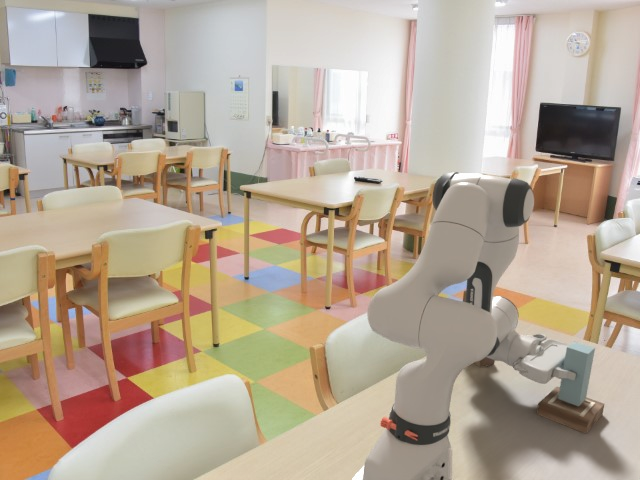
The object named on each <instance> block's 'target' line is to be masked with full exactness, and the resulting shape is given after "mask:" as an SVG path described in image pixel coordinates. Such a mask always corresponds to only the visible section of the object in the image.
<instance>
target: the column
mask: <svg viewBox="0 0 640 480" xmlns="http://www.w3.org/2000/svg"><path fill="white" fill-rule="evenodd" d="M595 350H596V347H595V346H591V345H588V344H585V343H582V342H578V341H576V340H575V341H572V342H571V343H570V344H569V346H568V347H567V349H566V355H565V361H564V367H563V370H568V371H569V370H572V371H575V372H577V378H576V379H575V380H570V379H567V378H560V379H561V380H560V387H559V388H560V391H559V397H558V399H560V400H563V401H565V402H568V403H571V404H573V405H576V406H580V405H581V404H582V403H583V402H584V401H585V400H586V397H587V395H588V390H589V383H590V377H591V374H592V373H591V372H592V367H593V362H594V356H595Z"/></svg>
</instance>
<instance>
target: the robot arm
mask: <svg viewBox="0 0 640 480" xmlns="http://www.w3.org/2000/svg"><path fill="white" fill-rule="evenodd" d="M431 196H432V199H431V200H432V206H433V208H434V210H435V213H434V216H433V218H432V220H431V224H430V226H429V230H428V233H427V236H426V239H425V241H424V244H423V247H422V249H421V252H420V254H419V256H418V258H417V260H416V261H415V263H414V264H413V266H412V267H410V269H409V271H407V272H406V274H404V275H403V276H401V278H399V279H398V280H396V281H395V282H393V283H391V284H390V285H387V286H384V287H382V288H380V289H378V291H376V293H375V294H374V295H373V296H372V297H371V298H370V301H369V303H368V306H367V315H366V316H367V321H368V324H369V325H368V326H369V327H370V329H371V331H372V332H373V333H375V334H377V335H379V336H381V337H382V338H385V339H387V340H389V341H391V342H393V343H397V344H399V345H404V346H408V347H412V348H416V349H419V350H422V351H424V352H425V353H426V354H425V355H426V356H425V357H426V358H423V359H416V360H414V361H410V362H408V363H406V364H405V365H403V366H402V367H401V368H400V370H399V371H398V373H397V375H396V379H395V380H396V381H395V393H394V403H393V404H392V406H391V410H390V411H389V417H386V416H384V417H382V418H381V420H380V424H379V425H380V427H382V428H384V430H383V432H382V433H381V435H380V436H379V437H378V439H377V441H376V442H375V444H374V445H373V447H372V448H371V449H370V451H369V453H368V454H367V456H366V459H365V462H364V464H363V466H362V467H361V468H360V469H359V470H358V472H357V473H356V474H355V475H354V476H353V477H352V479H351V480H454V479H453V448H452V446H451V442H450V439H449V433H450V427H451V422H452V421H451V420H452V419H451V412H450V407H451V399H452V396H453V395H452V394H453V390H454V384H455V382H456V380H457V378H458V376H459V375H460V374H461V373H462V372H463V370H465V369H466V368H467V367H469V366H470V365H472V364H475V363H474V362H477V361H480V360H482V359H483V358H485V357H487V358H490V359H492V360H495V361H496V362H503V363H505V364H506V365H507V366H509V367H512V368H513V369H514V370H515V372H516V371H517V372H518V373H519V374H520V375H521V376H522V377H525V378H527V379H529V380H531V381H533V382H536V383H538V384H542V385H543V384H544V385H545V384H548V383H549V382H550V381H551V380H552V379H553V378H554V377H555V378H558V379H562V378H567V379H570V380H575V379H576V378H577V372H575V371H572V370H569V371H568V370H563V367H564V361H565V355H566V349H567V347H568V346H569V345H570V344H569V343H567V342H563V341H561V340H557V339H555V338H554V339H553V338H548V337H547V335H546V334H543V333H538V334H533V335H530V334H529V335H528V334H527V335H525V334H521V333H519V332H517V331H516V328H517V326H518V322H519V318H520V317H519V315H520V313H519V310H518V308H517V305H516V304H515V303H513V301H511V300H510V299H508V298H507V297H504V296H501V295H494V292H495V289H496V287H497V284H498V283H499V281H500V280H501V278H502V276H503V275H504V273H506V271H507V269H508V268H509V267H510V266H511V264H512V262H513V261H514V259H515V258H516V255H517V251H518V247H519V242H520V227H522V226H523V225H525V224H526V223H527V222H528V221H529V219H530V217H531V215H532V213H533V211H534V207H535V197H534V196H535V195H534V190H533V188H532V186H531V185H530V184H529V183H528V181H525V180H522V179H519V178H516V177H515V178H514V177H513V178H507V177H503V176H497V175H491V174H490V175H489V174H486V173H480V172H479V173H475V172H474V173H472V172H471V173H470V172H469V173H468V172H467V173H466V172H463V173H459V172H458V171H455V172H454V171H453V172H452V171H451V172H447V173H443V174H442V175H441V176H440V177H439V178H437V180H436V181H435V183H434V186H433V191H432V195H431ZM465 282H466V289H465V291H466V302H463V300H458V299H453V298H449V297H444V296H439V295H440V294H441V292H442V291H444V290H445V289H447V288H448V287H451V286H454V285H457V284H461V283H462V284H463V283H465Z"/></svg>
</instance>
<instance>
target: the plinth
mask: <svg viewBox="0 0 640 480" xmlns="http://www.w3.org/2000/svg"><path fill="white" fill-rule="evenodd" d="M559 391H560V387H559V386H556V387H555V388H554V389H553V390H551V391H550V392H549V393H548V394H546V396H544V398H542V399H541V400H540V401H539V402H538V405H537V409H536V410H537V411H536V415H538V416H542V417H543V418H546V419H549V420H550V421H554V422H556V423H559V424H561V425H564V426H566V427H568V428H571V429H573V430H576V431H578V432H581V433H583V434H586V435H587V433H588V432H589V431H590V430H591V428H592V427H593V426H594V425H595V424H596V423H597V422H598V421H599V419H600V418H601V417H602V416H603V415H604V408H605V403H603V402H601V401H598V400H594V399H592V398H589V397H587V396H586V400H585V401H584V402H583V403H582V404H581V405H580V406H576V405H573V404H571V403H568V402H565V401H563V400H560V399H558V397H559Z"/></svg>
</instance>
